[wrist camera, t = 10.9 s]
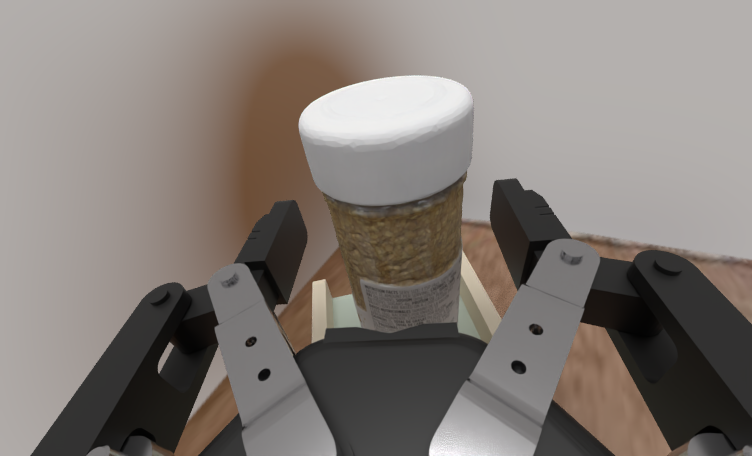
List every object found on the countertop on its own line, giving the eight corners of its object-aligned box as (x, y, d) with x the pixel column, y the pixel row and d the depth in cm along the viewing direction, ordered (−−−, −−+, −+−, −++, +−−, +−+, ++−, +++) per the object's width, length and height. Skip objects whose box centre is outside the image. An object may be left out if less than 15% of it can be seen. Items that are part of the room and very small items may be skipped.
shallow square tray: (462, 298, 22) (465, 249, 19) (540, 463, 14) (567, 425, 11) (328, 328, 22) (309, 282, 19) (335, 513, 14) (304, 487, 11)
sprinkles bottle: (378, 318, 18) (322, 80, 10) (456, 322, 17) (468, 62, 9) (365, 399, 15) (261, 138, 6) (461, 409, 14) (487, 120, 6)
